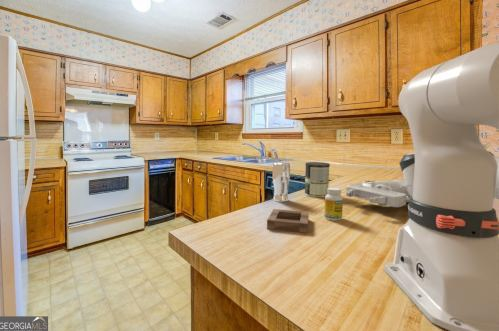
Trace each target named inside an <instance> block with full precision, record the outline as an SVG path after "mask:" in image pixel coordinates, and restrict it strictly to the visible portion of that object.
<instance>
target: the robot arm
mask: <svg viewBox="0 0 499 331" xmlns="http://www.w3.org/2000/svg"><path fill="white" fill-rule="evenodd" d="M400 90H401V91H400V93H399V95H398V103H397V104H398V109H399V111H400V113H401V114H402V115H403V117H404V118H405V119H406V121H407V123H408V126H409V131H410V136H411V141H412V146H413V152H410V153H407V154H405V155H403V157H402V158H401V159H400V161H399V167H400V169H401V172H402V175H403V178H397V179H396V178H395V179H391V180H388V179H387V180H377V181H376V180H375V181H373V180H372V181H371V180H363V181H362V182H357V183H352V184H348V185H346V187H345V196H346V197H349V198H351V197H352V198H353V197H354V198H357V199H360V200H361V199H362V200H364V201H369V203H371V204H377V205H379V206H385V207H386V206H388V207H392V208H401V207H403V206H406V205H407V209H408V210H407V216H408V219H407V221H406V222H405V223H404V225H402V226H401V227H399V228H398V231H397V235H396V241H395V242H396V243H395V249H394V250H395V251H394V256H393V260H392V261H390V262H387V263H385V265H384V271H385V272H386V274H388V276H390V278H391V280H393V282H395V284H396V285H398V287H399V289H401V290H402V291H403V293H404V294H405V295H406V296H407V297H408V298H409V299H410V300H411V302H413V303H414V305H416V307H417V308H418V310H420V311H421V312H422V314H423V315H424V316H425V317H426V318H427V319H428V320H429V321H430V322H431V323H432V324H434V325H436V326H438V327H440V328H443V329H445V330H448V331H499V218H498V216H497V210H496V209H495V208H494V201H495V199H497V200H499V156H497V155H495V154H494V153H492V152H491V151H489V150H487V149H486V148H485V146H484V145H483V143H482V141H481V139H480V136H479V133H478V129H477V125H481V126H488V127H491V128H495V129H497V130H499V41H498V42H497V41H496V42H493V43H489V44H486V45H483V46H481V47H477V48H475V49H473V50H471V51H469V52H466V53H464V54H461V55H459V56H456V57H453V58H451V59H449V60H446V61H443V62H441V63H439V64H436V65H433V66H431V67H428V68H427V69H424V70H422V71H420V72H419V73H417V75H415V76H413V77H412V78H411V79H410V80H409V81H408V82H407V83H405V85H404V86H403V87H402V88H401V89H400Z"/></svg>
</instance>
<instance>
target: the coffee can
mask: <svg viewBox="0 0 499 331" xmlns="http://www.w3.org/2000/svg"><path fill="white" fill-rule="evenodd" d="M330 165H331V164H330V162H329V163H328V162H319V161H317V162H316V161H315V162H314V161H312V162H310V161H309V162H305V178H304V181H305V182H304V195H305V196H306V197H311V198H325V196H326V195H327V194H328V192H327V191H328V188H329V185H330V183H329V180H330Z"/></svg>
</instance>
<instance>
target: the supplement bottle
mask: <svg viewBox="0 0 499 331" xmlns="http://www.w3.org/2000/svg"><path fill="white" fill-rule="evenodd" d="M327 192H328V194H327V195H326V196H325V197H324V218H325V219H326V220H327V221H334V222H337V221H338V222H339V221H341V220H342V218H343V207H344V206H343V205H344V198H343V195H341V193H342V189H341V188H339V187H328V191H327Z"/></svg>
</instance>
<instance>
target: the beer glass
mask: <svg viewBox="0 0 499 331" xmlns="http://www.w3.org/2000/svg"><path fill="white" fill-rule="evenodd" d="M290 178H291V163H290V162H289V163H288V162H273V165H272V181H273V190H274V191H273V192H274V193H273V198H272V199H274V200H273V201H274V202H277V203H285V202H288V201H289V195H288V190H289V185H290Z"/></svg>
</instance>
